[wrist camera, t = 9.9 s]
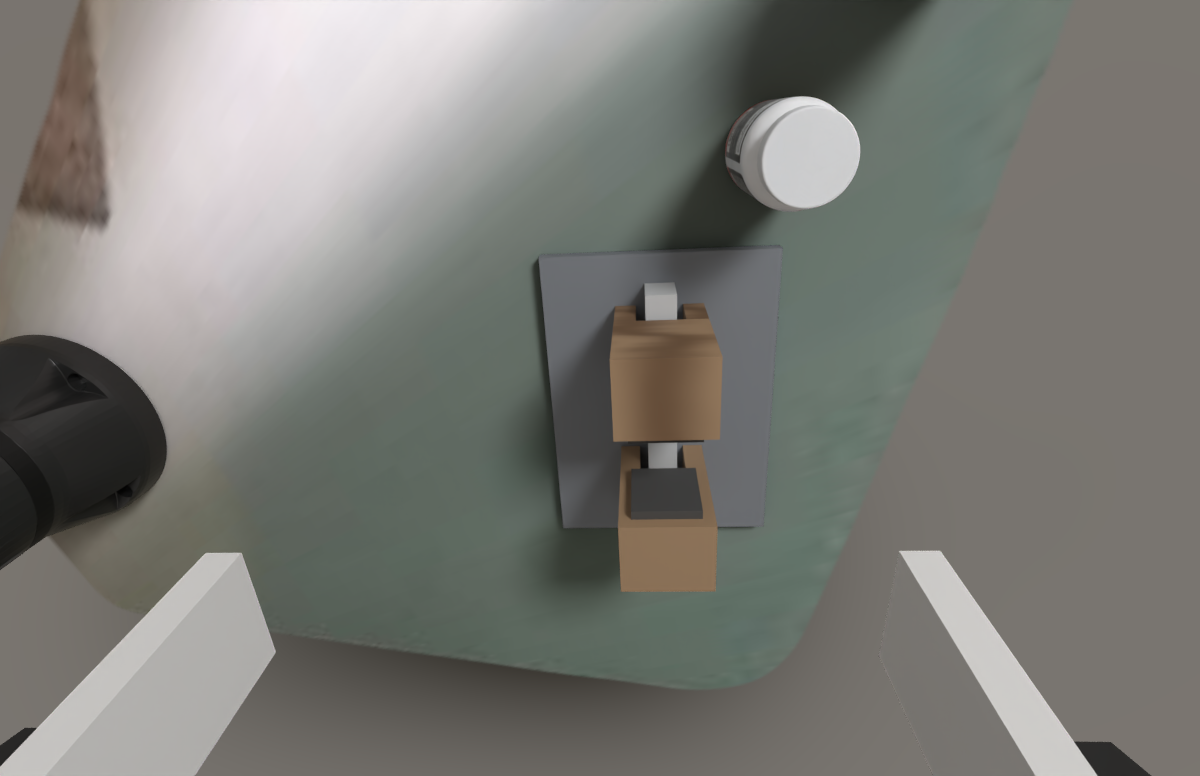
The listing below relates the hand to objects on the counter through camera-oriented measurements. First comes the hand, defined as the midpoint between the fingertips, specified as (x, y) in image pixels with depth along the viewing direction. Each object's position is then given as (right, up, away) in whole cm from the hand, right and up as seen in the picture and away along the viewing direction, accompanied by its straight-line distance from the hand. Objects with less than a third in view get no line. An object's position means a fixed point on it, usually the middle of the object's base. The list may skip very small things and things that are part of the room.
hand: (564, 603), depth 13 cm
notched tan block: (+5, +8, +30) cm, 32 cm away
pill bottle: (+11, +19, +26) cm, 35 cm away
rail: (+5, +4, +33) cm, 34 cm away
